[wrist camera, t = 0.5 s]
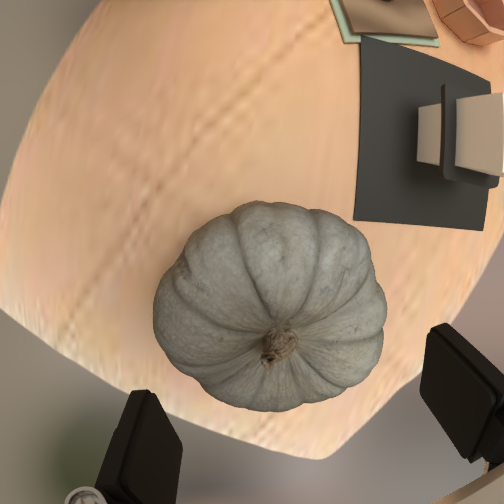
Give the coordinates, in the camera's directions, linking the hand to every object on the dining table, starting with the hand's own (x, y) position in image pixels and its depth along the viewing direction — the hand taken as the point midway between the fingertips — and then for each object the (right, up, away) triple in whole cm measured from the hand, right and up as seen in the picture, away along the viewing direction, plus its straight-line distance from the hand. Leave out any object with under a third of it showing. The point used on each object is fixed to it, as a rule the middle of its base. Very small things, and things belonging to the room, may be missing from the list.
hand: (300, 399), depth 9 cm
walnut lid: (+16, +40, +19) cm, 48 cm away
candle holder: (+24, +20, +26) cm, 41 cm away
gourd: (+1, 0, +31) cm, 31 cm away
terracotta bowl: (+33, +44, +20) cm, 59 cm away
